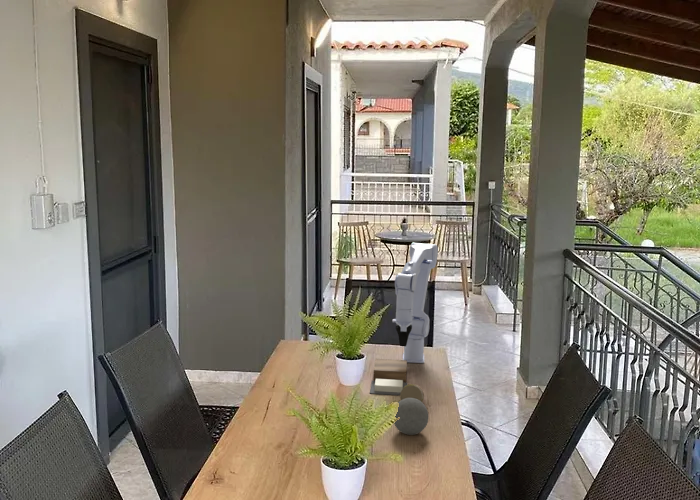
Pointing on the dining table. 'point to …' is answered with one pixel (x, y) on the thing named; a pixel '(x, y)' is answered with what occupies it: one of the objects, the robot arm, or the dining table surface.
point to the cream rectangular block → (388, 385)
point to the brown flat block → (390, 369)
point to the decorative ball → (411, 416)
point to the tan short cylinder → (412, 392)
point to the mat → (372, 391)
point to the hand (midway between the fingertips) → (403, 345)
